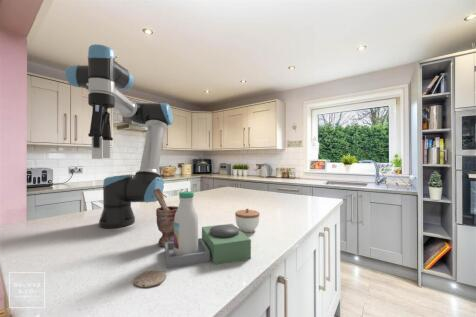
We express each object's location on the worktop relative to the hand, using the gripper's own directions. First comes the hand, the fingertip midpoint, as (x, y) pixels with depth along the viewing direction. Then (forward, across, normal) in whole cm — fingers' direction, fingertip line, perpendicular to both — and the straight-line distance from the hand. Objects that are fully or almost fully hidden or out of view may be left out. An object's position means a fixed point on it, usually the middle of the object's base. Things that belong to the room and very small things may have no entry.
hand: (102, 158), depth 74 cm
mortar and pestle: (+32, -2, +20) cm, 38 cm away
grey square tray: (+31, +12, +26) cm, 43 cm away
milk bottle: (+31, +12, +26) cm, 42 cm away
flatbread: (+32, +23, +15) cm, 42 cm away
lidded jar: (+32, -5, +55) cm, 64 cm away
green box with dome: (+32, +12, +39) cm, 52 cm away
